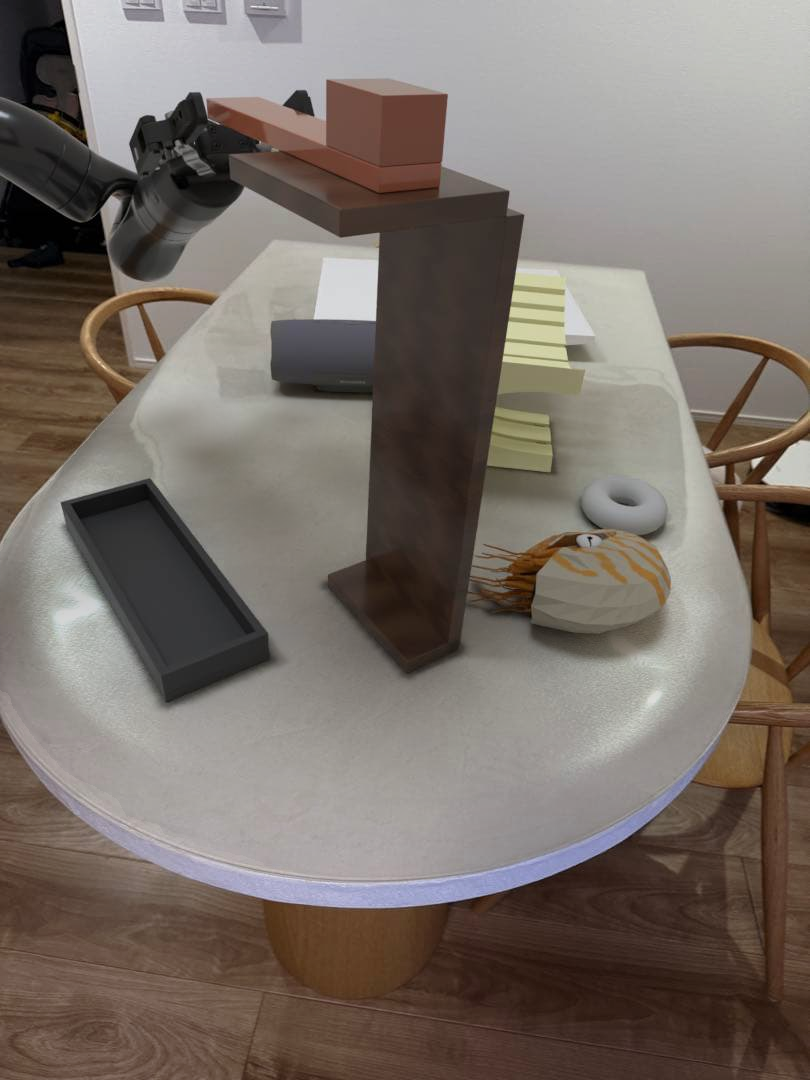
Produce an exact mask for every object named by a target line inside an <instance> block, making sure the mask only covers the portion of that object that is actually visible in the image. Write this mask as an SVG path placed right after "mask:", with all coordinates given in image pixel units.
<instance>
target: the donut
mask: <svg viewBox="0 0 810 1080" xmlns="http://www.w3.org/2000/svg"><path fill="white" fill-rule="evenodd" d="M580 504H581V508H582V512H583V513H584V515H585V516H586V517H587V519H589V520H590V522H592V523H593V524H595V526H597V527H599V528H601V529H615V530H620V531H625V532H630V533H632V534H635V535H637V536H645V535H648V534H650V533H653V532H656V531H657V530H658V529H659V528H660V527H662V525H664V524H665V522H666V520H667V516H668V512H669V506H668V504H667V502H666V498H665V497H664V495H662V493H661V492H660V490H658V488H656V487H655V486H653V485H651V484H650V483H648V482H647V481H644V480H642V479H640V478H637V477H632V476H630V475H629V476H628V475H621V474H611V475H610V474H609V475H604V476H603V475H602V476H600V477H597V478H595V479H592V481H590V482H588V484H586V485H585V486H584V488H583V491H582V493H581V495H580Z"/></svg>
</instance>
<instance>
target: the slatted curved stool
mask: <svg viewBox="0 0 810 1080" xmlns="http://www.w3.org/2000/svg"><path fill="white" fill-rule="evenodd" d="M566 286H567V277H566V276H561V277H557V276H547V275H536V274H526V273H516V275H515V281H514V288H513V295H512V301H511V308H510V315H509V321H508V328H507V334H506V341H505V348H504V354H503V361H502V368H501V374H500V381H499V387H498V394H497V396H499V395H503V394H511V393H512V394H513V393H551V394H552V393H553V394H555V393H556V394H568V395H581V390H582V386H583V382H584V377H585V374H586V369H579V368H578V369H577V368H572V366H571V364H570V362H569V358H568V353H567V347H566V346H567V345H566V342H565V327H564V324H565V312H564V309H565V296H564V295H565V289H566ZM551 433H552V432H551V427H550V415H549V414H545V413H535V412H527V411H521V410H514V409H509V408H504V407H499V406H496V407H495V414H494V421H493V427H492V434H491V440H490V447H489V454H488V460H487V467H496V468H507V469H515V470H523V471H524V470H525V471H535V472H543V473H551V472H552V464H553V457H554V454H553V445H552V436H551V435H552V434H551Z"/></svg>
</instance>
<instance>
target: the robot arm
mask: <svg viewBox="0 0 810 1080" xmlns="http://www.w3.org/2000/svg"><path fill="white" fill-rule="evenodd" d="M311 98H312V97H311V96H309V93H308V91H307V90H306V89H296V90H294V92H292V94H290V96H289V97H288V98H287V100H285V102H284V103H283V104H281V105H282V106H285V107H288V108H290V109H293V110H296V111H299V112H302V113H304V114H307V115H310V116H313V117H316V116H315V112H314V107H313V104H312V102H313V101H312V99H311ZM164 118H165V119H161V120H157V118H156V115H155V116H154V115H152V114H146V115H145V114H144V115H143V116H140V117H139V118H138V120H137V123H136V126H135V127H134V130H133V133H132V134H131V138H130V140H129V141H128V146H129V149H130V153H131V156H132V160H133V163H134V166H135V171H133V170H131V169H129V168H127V167H124V166H122V165H120V164H118V163H116V162H113V161H112V160H109V159H107V158H106V157H103V156H102V155H100V154H99V153H97V152H95V151H94V150H92V149H91V148H90V147H88V146H87V145H86V144H84V143H83V142H81V141H80V140H79V139H77V138H76V137H74V136H73V135H72V134H70V133H69V132H67V131H66V130H65V129H63V128H62V127H61V126H60V125H58V124H56V123H55V122H54V121H52V120H50V119H49V118H48V117H46V116H44V115H43V114H41V113H39V112H38V111H35V110H34V109H32V108H30V107H27V106H25V105H23V104H21V103H18V102H16V101H13V100H10V99H8V98H6V97H2V96H0V176H1V177H3V178H5V179H6V180H8V181H9V182H11V183H13V184H14V185H15V186H17V187H19V188H20V189H22V190H23V191H25V192H26V193H28V194H30V195H31V196H32V197H34V198H36V199H37V200H39V201H41V202H42V203H44V204H45V205H47V206H48V207H50V208H51V209H54V210H55V212H58V213H60V214H61V215H63V216H64V217H66V218H68V219H70V220H72V221H75V222H77V223H85V222H88V221H90V220H92V219H93V218H94V217H95V216H97V214H99V212H100V211H101V210H102V208H103V207H104V206H105V205H106V203H107V202H108V201H109V199H110V198H111V197H114V198H115V199H117V200H118V201H119V202H120V204H119V207H118V209H117V212H116V215H115V216H114V217H115V218H114V220H113V223H112V226H111V228H110V231H109V234H108V237H107V240H106V241H107V242H106V250H107V254H108V257H109V260H110V261H111V263H112V264H113V265H114V266H115V268H116V269H117V270H118V271H119V272H120V273H122V274H123V275H124V276H126V277H129V278H130V279H132V280H135V281H139V282H144V283H145V282H146V283H151V282H158V281H161V280H163V279H165V278H166V277H168V276H169V275H170V274H171V273H172V272H173V270H174V269H175V268H176V266H177V264H178V263H179V261H180V259H181V257H182V255H183V253H184V252H185V250H186V248H187V245H188V244H189V243H190V241H191V239H192V238H193V237H195V236H196V235H197V234H198V233H199V232H200V231H201V230H202V229H204V228H206V227H208V226H210V225H211V224H213V222H214V221H216V220H217V219H218V218H219V217H220V216H221V215H222V214H223V213H224V212H225V211H226V210H227V209H228V208H229V207H231V206H232V205H233V204H234V203H235V202H236V201H237V200H238V199H239V198H240V196H241V195H242V193H243V191H244V189H245V187H244V186H243V185H241V184H239V183H237V182H235V181H233V180H231V178H230V166H229V155H230V154H246V153H262V152H278V151H281V150H279V149H276V148H274V147H272V146H270V145H267V144H265V143H263V142H260V141H258V140H256V139H254V138H251V137H249V136H247V135H244V134H242V133H240V132H238V131H235V130H233V129H231V128H228V127H226V126H224V125H222V124H219V123H217V122H215V121H212V120H210V119H208V114H207V108H206V105H205V101H204V98H203V95H202V93H201V92H200V91H189V92H188V94H187V95H186V96H185V98H184V99H182V100H181V101H179V102H178V103H177V105H176V107H174V109H173V110H169V111H168V112H166V113H165V114H164Z"/></svg>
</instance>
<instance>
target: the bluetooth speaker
mask: <svg viewBox="0 0 810 1080" xmlns="http://www.w3.org/2000/svg"><path fill="white" fill-rule="evenodd" d="M375 330H376V321H366V320H334V319H314V318H313V319H311V318H309V319H299V318H298V319H278V320H277V319H276V320H271V323H270V330H269V331H270V342H271V343H270V344H271V345H270V347H271V348H270V349H271V351H270V352H271V353H270V354H271V357H270V376H271V380H272V381H275V382H276V381H277V382H282V383H291V384H304V385H314V386H315V387H316V389H317V390H319V391H323V392H334V393H335V392H336V393H364V394H365V393H373V377H374V354H375Z"/></svg>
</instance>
